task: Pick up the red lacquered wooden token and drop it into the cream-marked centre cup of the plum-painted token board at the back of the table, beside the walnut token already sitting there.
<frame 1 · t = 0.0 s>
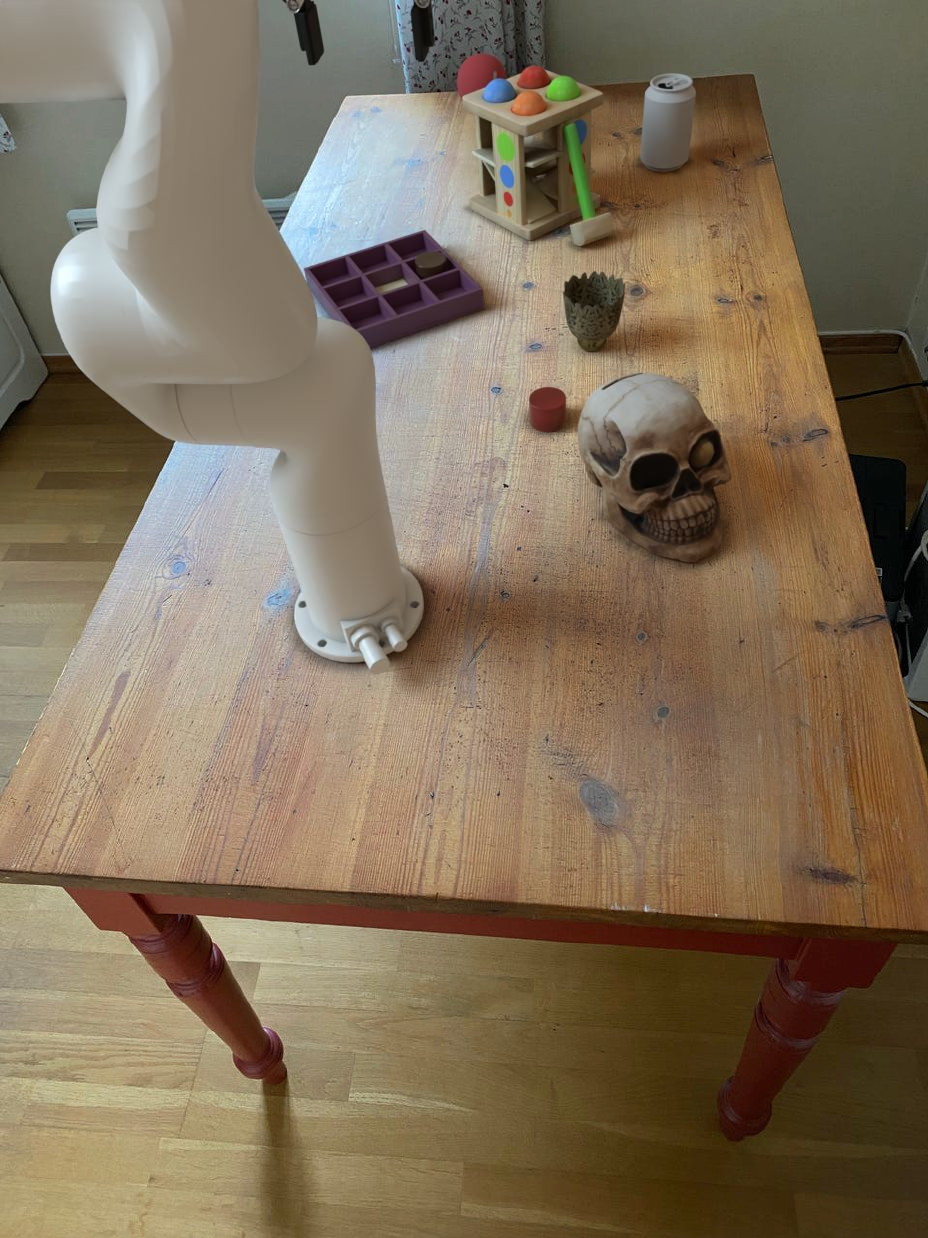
hand: (369, 57, 78), 37 cm above the table, tool pointing down, fingers open, 9 cm apart
coin bank: (651, 499, 94), on the table
pounding bench toy: (552, 218, 133), on the table
board: (393, 298, 122), on the table
walnut token: (432, 280, 123), point 1 cm above the table, touching board
can: (663, 164, 141), on the table
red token: (547, 420, 103), on the table
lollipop: (486, 157, 147), on the table
cup: (591, 346, 112), on the table
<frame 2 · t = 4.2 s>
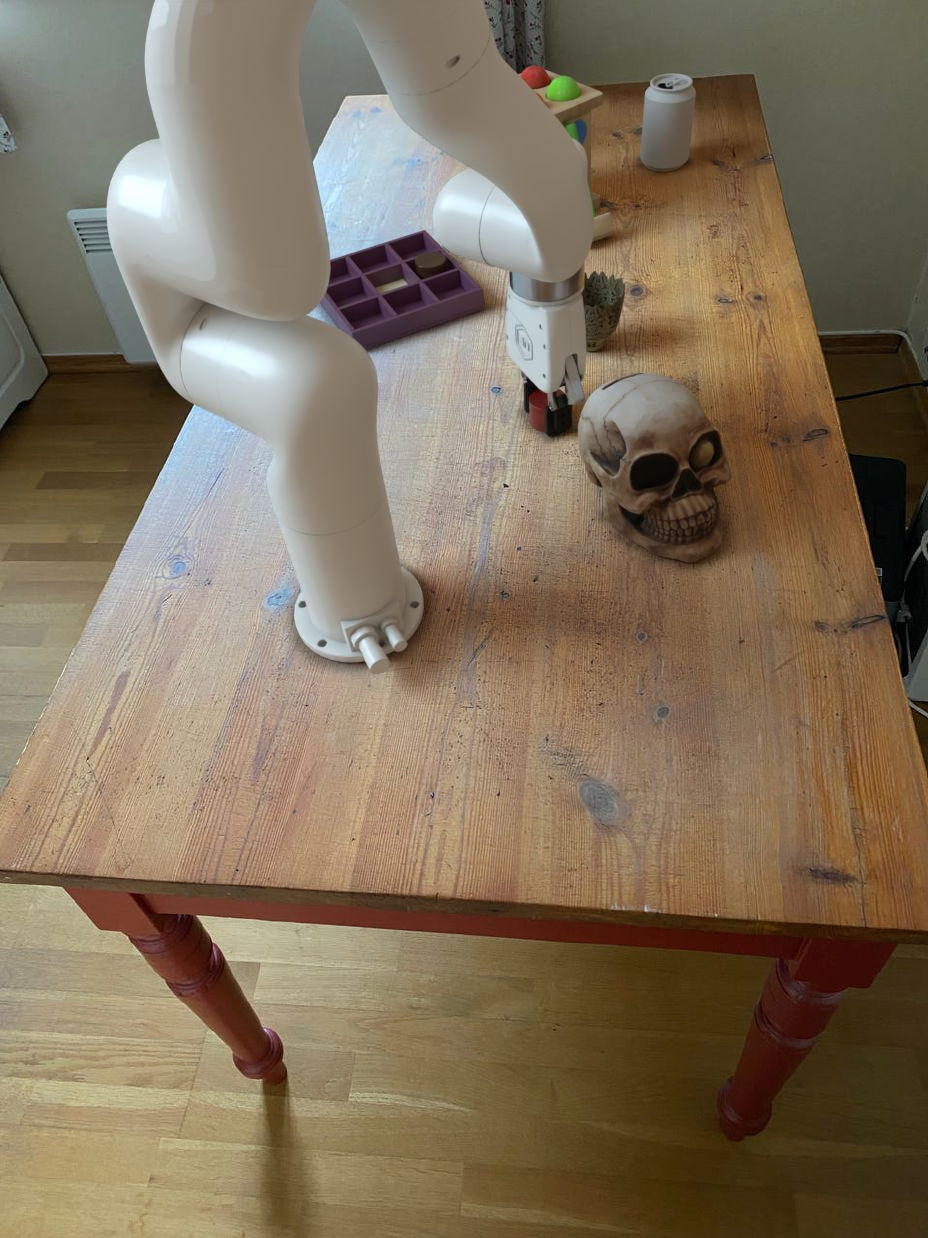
hand: (547, 418, 103), 0 cm above the table, tool pointing down, fingers closed on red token, 4 cm apart
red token: (547, 420, 103), on the table, touching gripper
everything else where it was.
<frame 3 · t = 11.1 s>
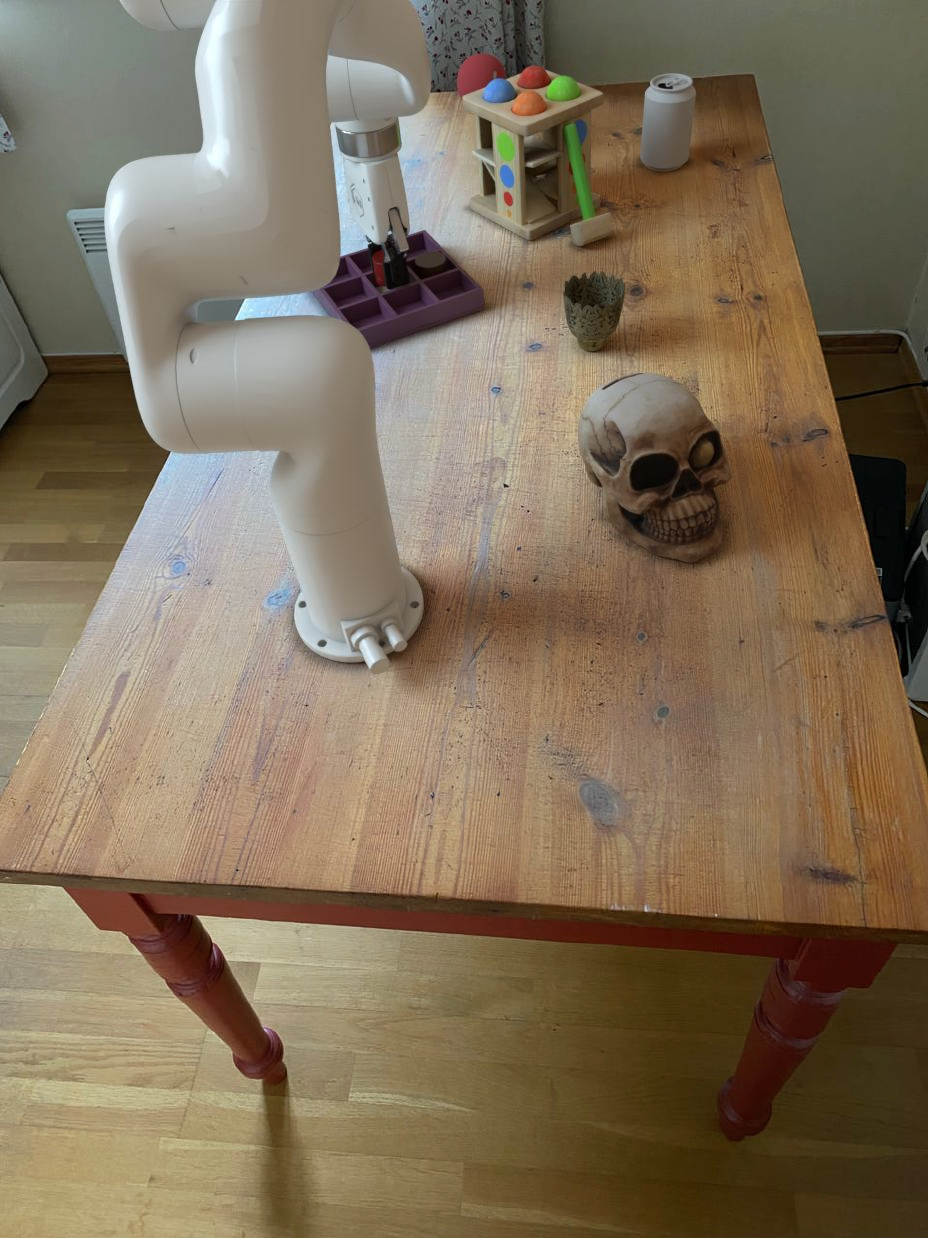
hand: (390, 276, 120), 3 cm above the table, tool pointing down, fingers closed on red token, 4 cm apart
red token: (391, 278, 120), point 3 cm above the table, touching gripper
everything else where it was.
when the fingers open (3 cm above the table, at t = 14.4 s): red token drops 2 cm, resting on board.
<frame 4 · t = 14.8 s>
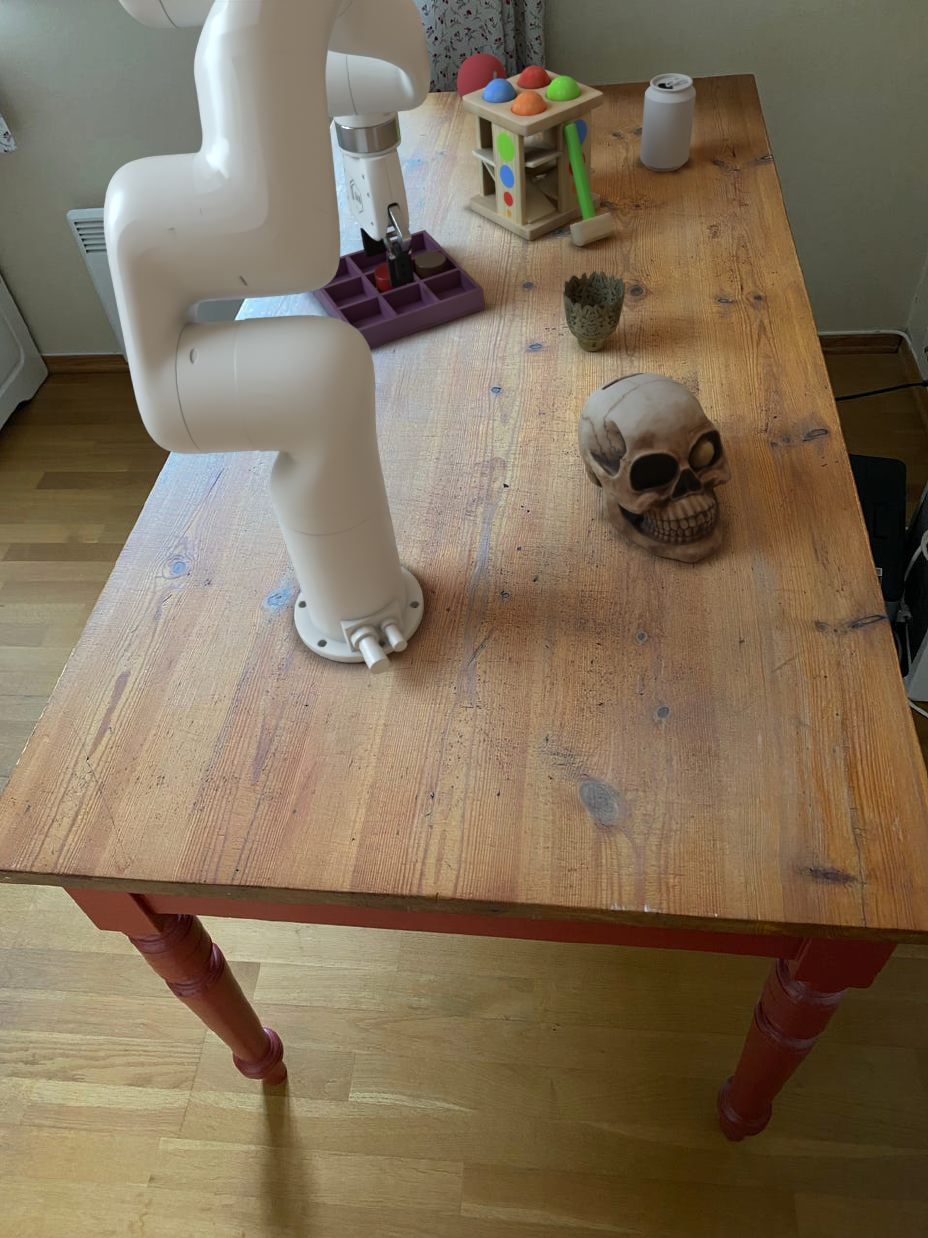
hand: (389, 267, 119), 4 cm above the table, tool pointing down, fingers open, 8 cm apart
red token: (393, 292, 122), point 1 cm above the table, touching board
everything else where it was.
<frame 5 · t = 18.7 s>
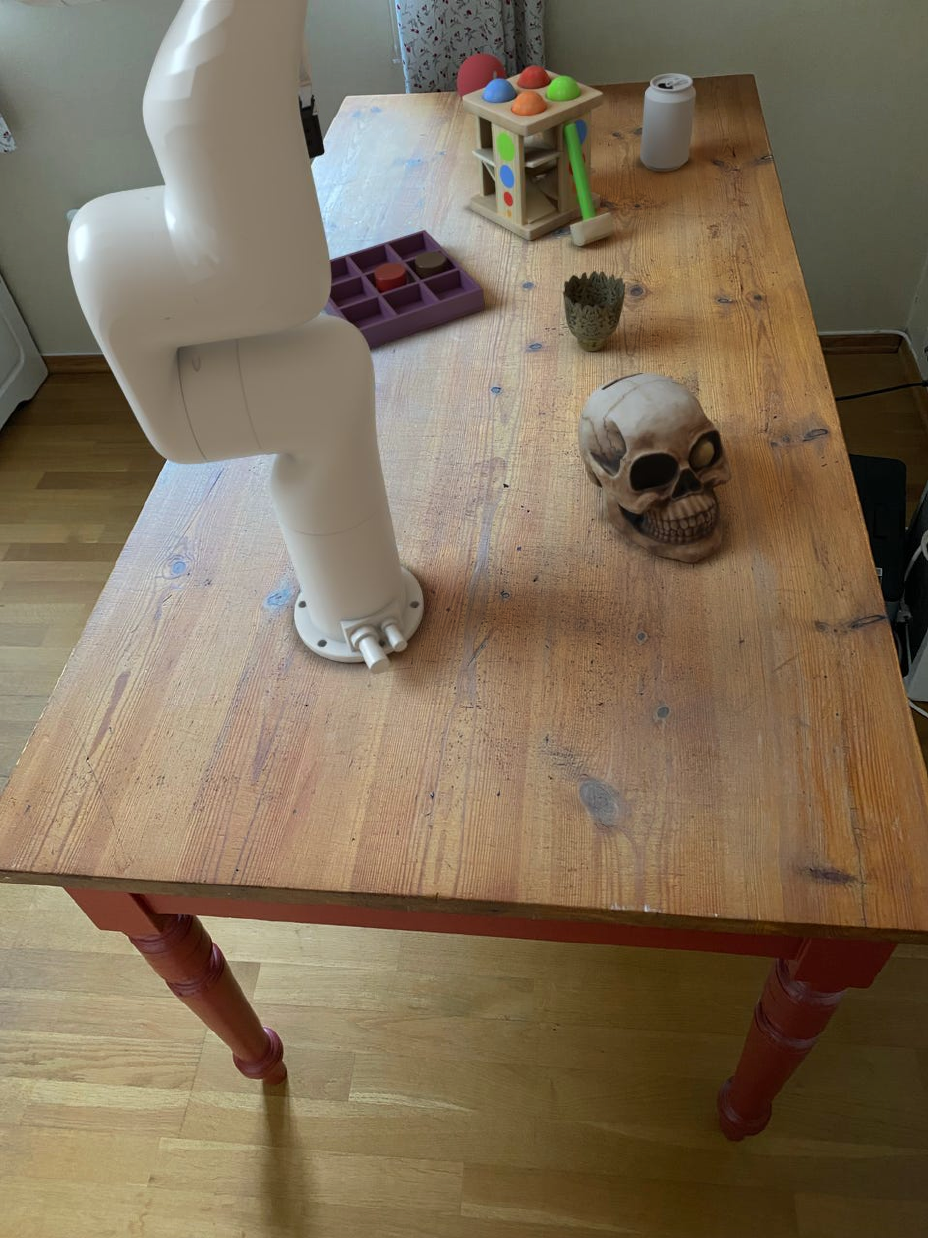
hand: (294, 140, 95), 26 cm above the table, tool pointing down, fingers open, 9 cm apart
nothing on the table moved.
at the end: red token 0.0 cm off-centre in the board, point 0.8 cm above the board's base; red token tilted 0°; walnut token moved 0.0 cm from its start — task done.
